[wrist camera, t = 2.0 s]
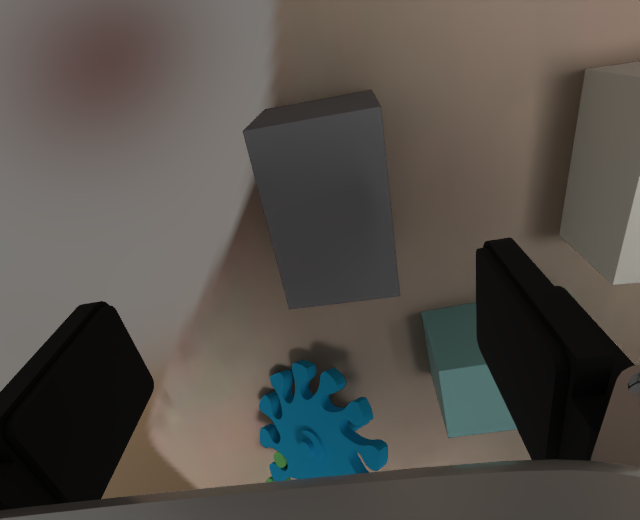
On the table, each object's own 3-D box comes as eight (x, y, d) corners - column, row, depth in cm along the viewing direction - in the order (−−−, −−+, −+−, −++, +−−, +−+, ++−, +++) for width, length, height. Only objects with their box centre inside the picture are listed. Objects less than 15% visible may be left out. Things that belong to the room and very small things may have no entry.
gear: (307, 333, 23) (411, 510, 19) (368, 317, 28) (463, 458, 24) (226, 416, 29) (292, 565, 25) (286, 392, 34) (351, 516, 30)
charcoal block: (265, 109, 19) (242, 131, 15) (371, 89, 19) (380, 106, 14) (299, 257, 23) (289, 309, 19) (388, 244, 22) (400, 296, 18)
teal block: (563, 286, 23) (615, 345, 19) (560, 352, 25) (605, 418, 21) (420, 310, 24) (438, 371, 20) (430, 371, 27) (448, 437, 22)
